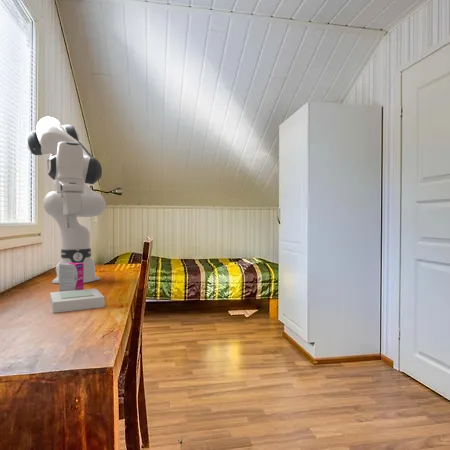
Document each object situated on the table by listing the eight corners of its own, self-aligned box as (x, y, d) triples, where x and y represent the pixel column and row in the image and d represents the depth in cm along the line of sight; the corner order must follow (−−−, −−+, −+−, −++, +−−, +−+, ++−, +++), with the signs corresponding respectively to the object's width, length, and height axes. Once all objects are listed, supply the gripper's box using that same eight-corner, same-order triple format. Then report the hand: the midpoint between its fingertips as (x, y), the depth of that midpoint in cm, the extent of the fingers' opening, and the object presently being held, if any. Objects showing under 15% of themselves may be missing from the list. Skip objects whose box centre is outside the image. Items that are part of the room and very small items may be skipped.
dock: (49, 301, 115) (49, 291, 115) (95, 296, 121) (95, 287, 121) (52, 312, 100) (52, 301, 100) (104, 306, 107) (104, 296, 107)
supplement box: (74, 298, 119) (73, 264, 119) (58, 297, 120) (58, 264, 120) (84, 294, 125) (84, 262, 125) (69, 294, 126) (69, 262, 126)
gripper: (58, 190, 130) (59, 228, 130) (62, 185, 112) (63, 228, 112) (77, 191, 133) (77, 228, 133) (84, 185, 115) (84, 228, 115)
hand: (71, 228), depth 122 cm, fingers open, 8 cm apart
